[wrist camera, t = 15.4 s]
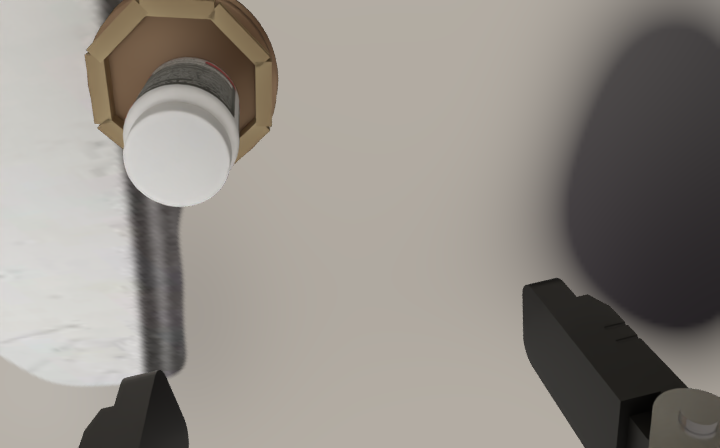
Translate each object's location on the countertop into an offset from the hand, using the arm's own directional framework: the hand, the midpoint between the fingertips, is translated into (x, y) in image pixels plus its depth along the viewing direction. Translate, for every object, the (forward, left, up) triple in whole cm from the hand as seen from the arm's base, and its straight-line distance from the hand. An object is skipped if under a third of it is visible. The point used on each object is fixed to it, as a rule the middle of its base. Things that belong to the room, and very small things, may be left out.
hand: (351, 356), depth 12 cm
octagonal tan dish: (-4, -3, -23) cm, 24 cm away
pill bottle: (-4, -3, -20) cm, 21 cm away
